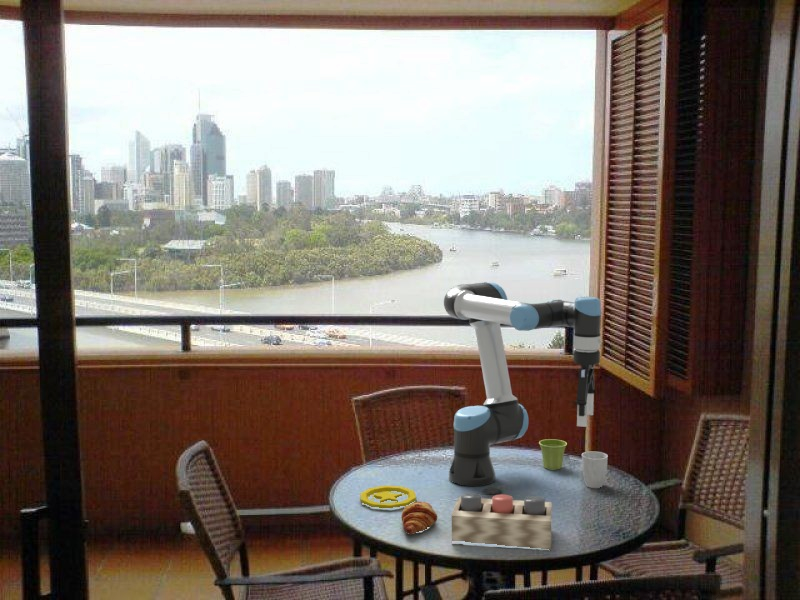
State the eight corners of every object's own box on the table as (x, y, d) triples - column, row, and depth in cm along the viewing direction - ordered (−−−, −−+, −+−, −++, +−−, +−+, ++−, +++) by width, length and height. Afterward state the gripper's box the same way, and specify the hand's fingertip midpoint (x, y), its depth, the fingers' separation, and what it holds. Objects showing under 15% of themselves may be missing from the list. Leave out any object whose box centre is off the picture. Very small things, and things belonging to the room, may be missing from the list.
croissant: (418, 521, 244) (405, 497, 244) (447, 508, 241) (435, 484, 241) (400, 549, 223) (387, 523, 224) (432, 535, 221) (418, 508, 221)
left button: (459, 517, 222) (459, 499, 221) (462, 509, 227) (462, 492, 226) (480, 518, 221) (480, 500, 220) (482, 510, 226) (482, 493, 225)
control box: (451, 544, 218) (451, 515, 217) (457, 524, 232) (457, 497, 231) (550, 551, 214) (551, 521, 213) (551, 530, 227) (551, 502, 226)
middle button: (491, 519, 220) (491, 501, 219) (493, 511, 225) (493, 494, 225) (512, 520, 219) (512, 502, 218) (513, 512, 224) (513, 495, 224)
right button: (523, 521, 218) (523, 502, 218) (524, 513, 224) (524, 495, 223) (544, 522, 217) (544, 504, 217) (544, 514, 223) (545, 496, 222)
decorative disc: (410, 513, 242) (410, 506, 242) (353, 509, 246) (352, 502, 246) (421, 493, 258) (421, 487, 258) (367, 490, 262) (367, 484, 262)
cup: (605, 481, 266) (605, 451, 265) (609, 490, 258) (609, 459, 257) (579, 481, 267) (580, 451, 266) (582, 489, 259) (583, 458, 258)
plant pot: (538, 462, 286) (538, 438, 285) (565, 463, 285) (566, 439, 284) (539, 471, 277) (539, 446, 276) (567, 472, 276) (567, 447, 275)
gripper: (594, 358, 228) (592, 432, 230) (605, 343, 251) (603, 411, 254) (566, 356, 230) (565, 430, 233) (580, 342, 254) (578, 409, 256)
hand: (585, 420), depth 243 cm, fingers open, 13 cm apart
